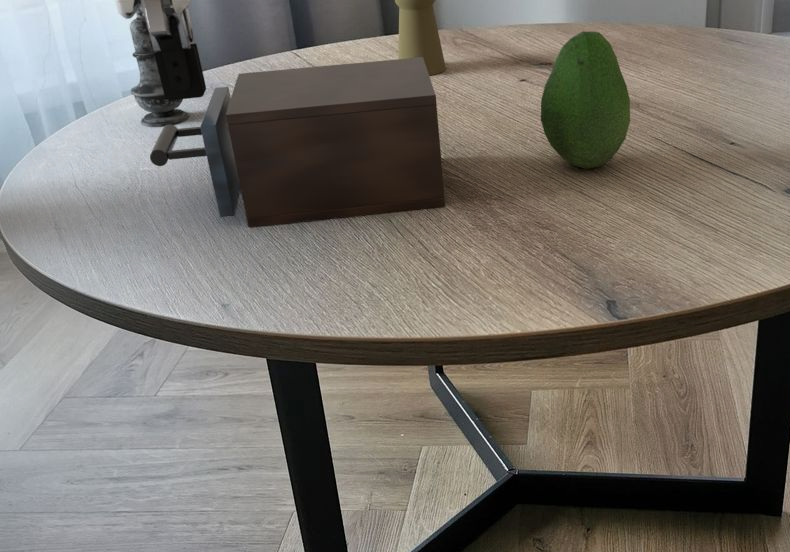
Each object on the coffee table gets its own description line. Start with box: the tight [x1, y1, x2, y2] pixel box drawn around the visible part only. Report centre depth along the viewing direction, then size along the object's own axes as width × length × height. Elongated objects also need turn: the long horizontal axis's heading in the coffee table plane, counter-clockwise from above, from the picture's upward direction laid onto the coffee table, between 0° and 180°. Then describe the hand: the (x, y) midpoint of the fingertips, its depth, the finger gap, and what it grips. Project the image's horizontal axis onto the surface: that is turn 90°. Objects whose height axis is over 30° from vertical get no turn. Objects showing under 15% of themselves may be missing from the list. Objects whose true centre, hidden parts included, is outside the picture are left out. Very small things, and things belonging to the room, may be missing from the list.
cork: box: [394, 0, 447, 77], centre depth 118 cm, size 6×6×11 cm
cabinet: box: [226, 57, 446, 228], centre depth 84 cm, size 17×13×10 cm
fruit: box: [540, 30, 631, 170], centre depth 85 cm, size 8×8×12 cm
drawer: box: [149, 86, 241, 218], centre depth 83 cm, size 20×11×8 cm, turn 99°
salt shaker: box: [129, 8, 190, 128], centre depth 105 cm, size 6×6×12 cm
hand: (186, 95), depth 80 cm, fingers closed
